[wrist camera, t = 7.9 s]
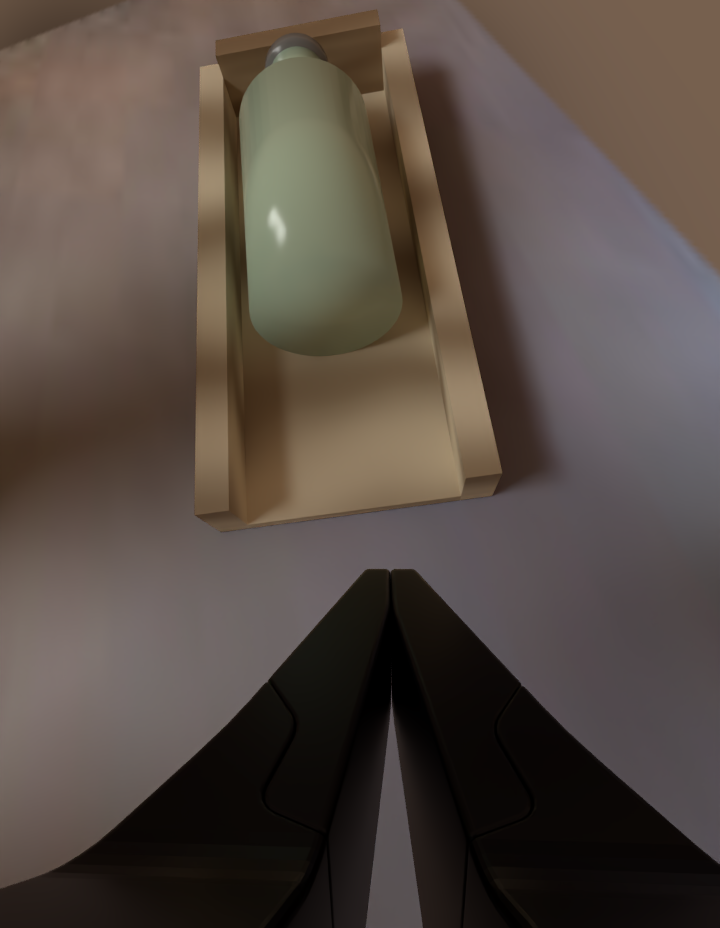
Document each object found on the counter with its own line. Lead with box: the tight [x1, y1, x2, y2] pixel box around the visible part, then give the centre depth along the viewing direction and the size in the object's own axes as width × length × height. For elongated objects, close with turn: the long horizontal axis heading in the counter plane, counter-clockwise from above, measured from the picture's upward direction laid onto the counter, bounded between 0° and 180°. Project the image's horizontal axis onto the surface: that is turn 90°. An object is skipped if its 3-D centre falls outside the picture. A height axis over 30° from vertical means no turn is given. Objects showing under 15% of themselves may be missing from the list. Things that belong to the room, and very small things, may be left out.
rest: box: [195, 9, 502, 532], centre depth 22 cm, size 24×10×4 cm, turn 6°
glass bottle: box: [239, 33, 403, 356], centre depth 21 cm, size 6×6×14 cm
